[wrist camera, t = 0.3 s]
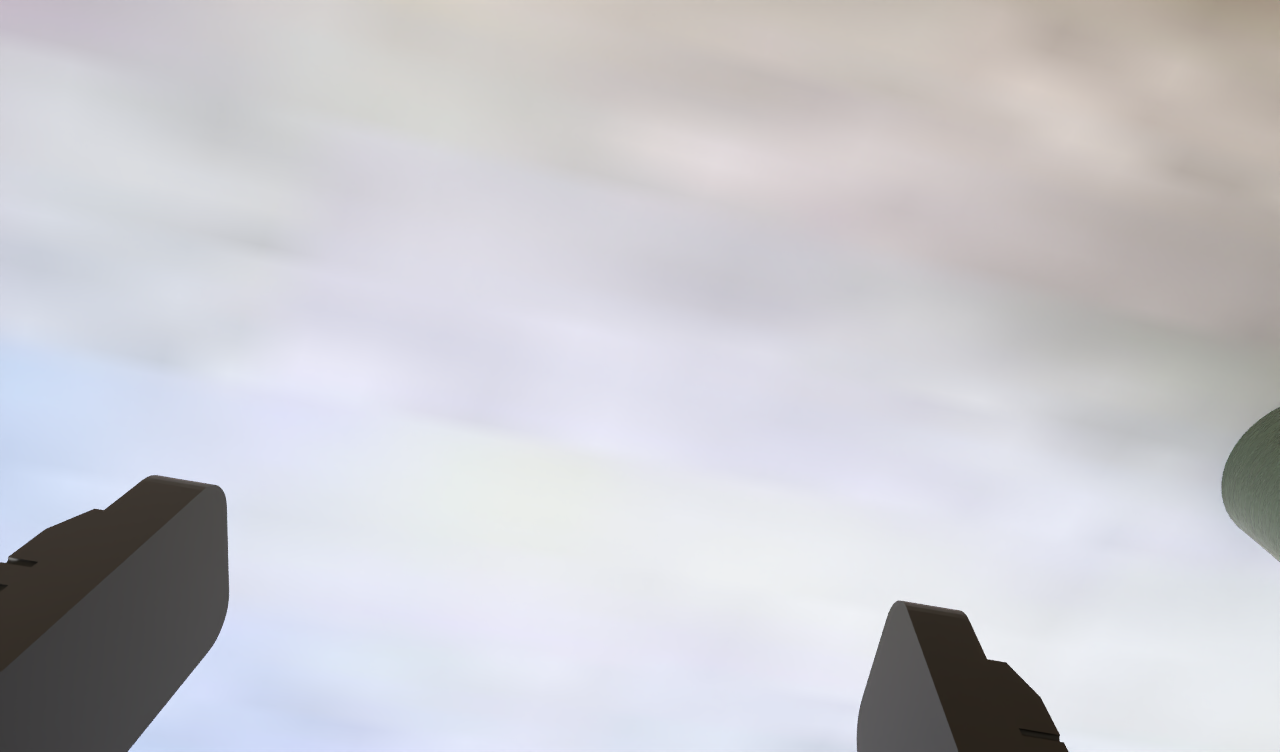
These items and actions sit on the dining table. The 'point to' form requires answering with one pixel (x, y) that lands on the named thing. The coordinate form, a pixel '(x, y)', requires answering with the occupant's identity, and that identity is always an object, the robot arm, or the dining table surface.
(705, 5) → the dining table surface
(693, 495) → the dining table surface
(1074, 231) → the dining table surface
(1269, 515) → the spout can
